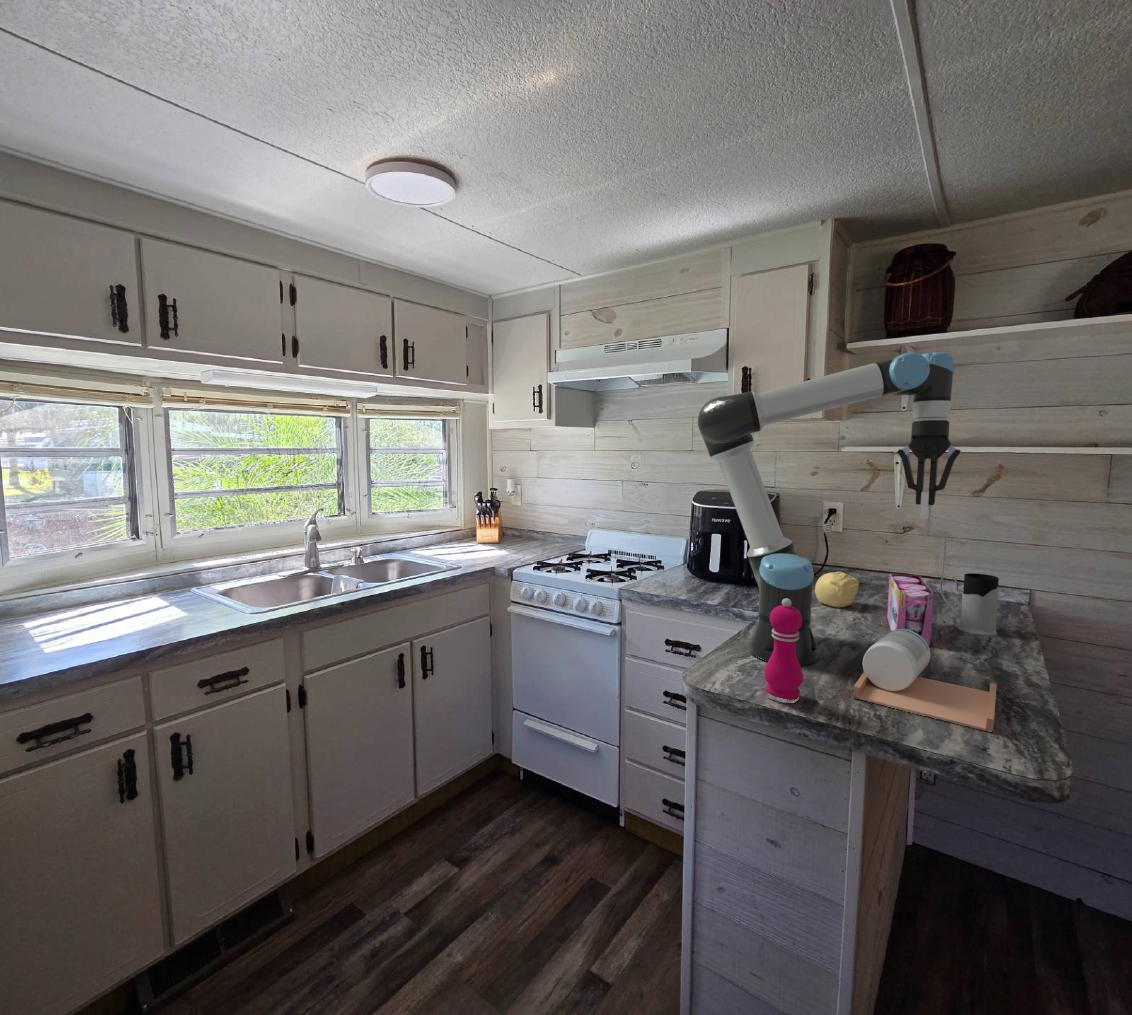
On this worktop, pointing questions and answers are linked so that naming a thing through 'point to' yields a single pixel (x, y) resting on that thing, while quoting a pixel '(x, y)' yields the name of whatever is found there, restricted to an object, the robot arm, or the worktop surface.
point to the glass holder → (977, 603)
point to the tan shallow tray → (935, 701)
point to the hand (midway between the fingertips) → (924, 518)
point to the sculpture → (836, 589)
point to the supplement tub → (896, 659)
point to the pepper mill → (784, 653)
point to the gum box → (910, 605)
